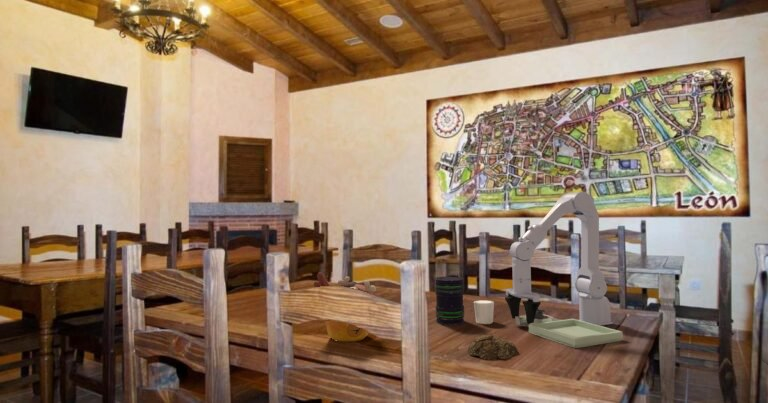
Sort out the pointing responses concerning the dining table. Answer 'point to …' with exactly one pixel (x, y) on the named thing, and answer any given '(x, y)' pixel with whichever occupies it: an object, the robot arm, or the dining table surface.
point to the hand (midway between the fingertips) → (522, 320)
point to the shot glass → (484, 311)
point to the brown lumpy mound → (492, 348)
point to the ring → (522, 319)
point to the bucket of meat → (340, 329)
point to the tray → (575, 333)
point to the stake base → (540, 316)
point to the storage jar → (449, 300)
